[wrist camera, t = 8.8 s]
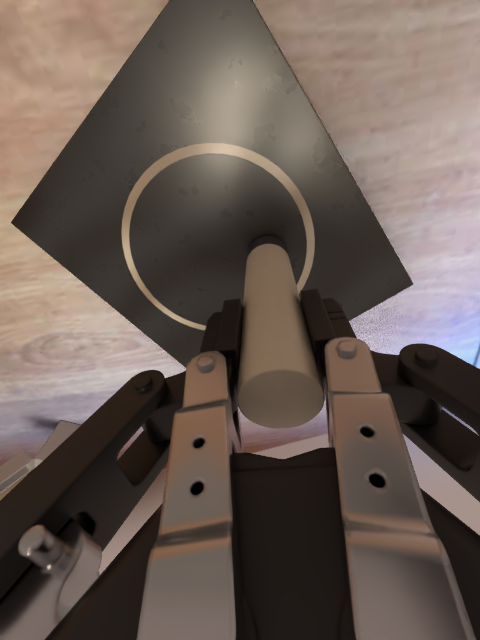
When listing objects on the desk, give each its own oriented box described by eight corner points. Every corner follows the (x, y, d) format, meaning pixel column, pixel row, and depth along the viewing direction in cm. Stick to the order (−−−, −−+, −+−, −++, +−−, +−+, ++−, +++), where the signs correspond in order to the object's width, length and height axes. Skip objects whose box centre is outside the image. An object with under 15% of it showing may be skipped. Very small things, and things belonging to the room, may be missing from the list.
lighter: (99, 430, 31) (56, 511, 24) (98, 438, 32) (56, 520, 25) (30, 412, 30) (-34, 493, 23) (31, 422, 31) (-32, 502, 24)
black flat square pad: (16, 220, 19) (9, 223, 18) (217, -57, 12) (215, -67, 12) (219, 390, 27) (218, 396, 26) (409, 280, 20) (414, 285, 19)
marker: (238, 252, 19) (218, 396, 8) (271, 226, 18) (292, 354, 8) (263, 281, 20) (271, 438, 10) (295, 258, 19) (341, 407, 9)
